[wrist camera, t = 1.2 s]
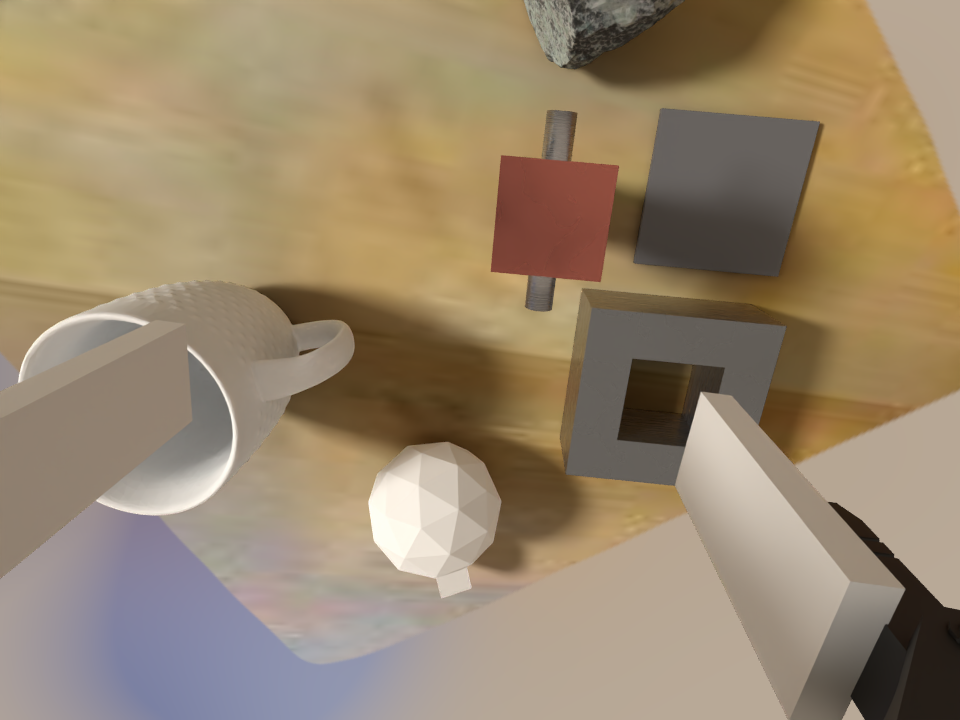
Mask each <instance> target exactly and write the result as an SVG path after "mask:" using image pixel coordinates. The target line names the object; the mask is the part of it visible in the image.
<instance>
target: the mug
mask: <svg viewBox="0 0 960 720" xmlns="http://www.w3.org/2000/svg"><path fill="white" fill-rule="evenodd" d="M155 320H160V321H167V322H175V323H183V324H186V336H187V350H188V364H189V379H190V393H191V407H192V422H190V423H189V424H188V425H187V426H185V427H184V428H183V429H182V430H181V431H179V432H178V433H177V434H176V435H175V436H173V437H172V438H171V439H170V440H168V441H167V442H166V443H165V444H164V445H162V446H161V447H160V448H159V449H158V450H156V451H155V452H154V453H153V454H151V455H150V456H149V457H148V458H147V459H145V460H144V461H143V462H142V463H140V464H139V465H138V466H137V467H136V468H134V469H133V470H132V471H131V472H130V473H128V474H127V475H126V476H125V477H123V478H122V479H121V480H120V481H119V482H117V483H116V484H115V485H114V486H113V487H111V488H110V489H109V490H108V491H106V492H105V493H104V494H103V495H102V496H100V497H99V498H98V499H97V500H96V501H97V502H99V503H101V504H104V505H106V506H109V507H112V508H115V509H118V510H121V511H125V512H129V513H135V514H142V515H143V514H144V515H169V514H175V513H180V512H184V511H187V510H190V509H192V508H195V507H197V506H199V505H201V504H202V503H204V502H206V501H207V500H209V499H210V498H211V497H213V496H214V495H215V494H216V493H217V492H218V491H219V490H220V489H221V488H222V487H223V486H224V485H225V484H226V483H227V482H228V481H229V480H230V479H231V478H232V477H233V475H235V474H236V473H237V472H238V470H239V469H240V468H241V467H242V465H244V464H245V463H246V462H248V460H249V459H250V457H251V455H252V454H253V453H254V452H255V451H256V450H257V449H259V447H260V446H261V444H262V442H263V441H264V440H265V439H266V438H267V437H268V436H269V434H270V432H271V430H272V429H273V427H274V426H276V425H277V423H278V421H279V419H280V417H281V416H282V415H283V414H284V411H285V408H286V406H287V404H288V403H289V401H290V398H291V395H293V394H296V393H299V392H301V391H303V390H306V389H308V388H311V387H313V386H315V385H317V384H320V383H321V382H323V381H325V380H327V379H328V378H330V377H332V376H333V375H335V374H336V373H338V372H339V371H340V370H342V369H343V368H344V367H345V366H346V365H347V364H348V363H349V361H350V360H351V358H352V356H353V354H354V349H355V343H354V337H353V334H352V331H351V329H350V327H349V326H348V325H347V324H346V323H345V322H343V321H340V320H322V321H314V322H308V323H302V324H296V325H292V324H291V322H290V320H289V319H288V317H287V316H286V314H285V313H284V312H283V311H282V310H281V309H280V307H278V306H277V305H276V304H275V303H274V302H273V301H271V300H270V299H269V298H268V297H267V296H265V295H262V294H260V293H259V292H257V291H256V290H254V289H249V288H247V287H245V286H242V285H237V284H234V283H231V282H230V283H226V282H223V281H209V280H205V281H195V280H194V281H191V282H178V283H175V284H164V285H162V286H160V287H157V288H149V289H147V290H145V291H142V292H137V293H133V294H131V295H129V296H126V297H123V298H117V299H115V300H113V301H112V302H109V303H106V304H101V305H99V306H97V307H95V308H93V309H90V310H88V311H85V312H82V313H80V314H77V315H74V316H72V317H69V318H67V319H65V320H63V321H61V322H59V323H57V324H55V325H54V326H52V327H51V328H49V329H48V330H47V331H45V332H44V333H43V334H42V335H41V336H40V337H39V338H38V339H37V340H36V341H35V342H34V343H33V345H32V346H31V348H30V349H29V350H28V352H27V354H26V356H25V358H24V360H23V363H22V366H21V370H20V373H19V381H18V383H20V382H22V381H24V380H26V379H29V378H31V377H33V376H35V375H37V374H39V373H42V372H44V371H46V370H48V369H50V368H52V367H55V366H57V365H59V364H61V363H63V362H66V361H68V360H70V359H72V358H74V357H76V356H79V355H81V354H83V353H85V352H87V351H90V350H92V349H94V348H96V347H98V346H100V345H103V344H105V343H107V342H109V341H111V340H113V339H116V338H118V337H120V336H122V335H124V334H127V333H129V332H131V331H133V330H135V329H137V328H140V327H142V326H144V325H146V324H148V323H151V322H153V321H155ZM313 348H318V349H316V350H314V351H312V352H310V353H307V354H304V355H301V356H299V352H300V351H303V350H308V349H313Z"/></svg>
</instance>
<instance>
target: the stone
mask: <svg viewBox="0 0 960 720" xmlns="http://www.w3.org/2000/svg"><path fill="white" fill-rule="evenodd" d="M684 1H685V0H524V2H525V5H526V9H527V12H528V16H529V19H530V21H531V24H532V26H533V28H534V30H535V33H536V36H537V38H538V40H539V42H540V45H541V47H542V49H543V51H544V52H545V54H546V57H547V59H548V60H550V61H551V62H555V63H556V64H557V65H558V66H559V67H561V68H569V69H577V68H579V67H581V66H585V65H587V64H589V63H591V62H592V61H593V60H595V59H596V58H597V57H598V56H600V55H601V54H602V53H604V52H605V51H611V50H614V49H616V48H618V47H620V46H623V45H624V44H626V43H627V42H629V41H630V40H631V39H633V38H635V37H636V36H638V35H639V34H641V33H642V32H643V31H645V30H647V29H648V28H650V27H651V26H653V25H654V24H655V23H656V22H657V21H659V20H660V19H662V18H663V17H664V16H665V15H666V14H668V13H669V12H670V11H671V10H673V9H674V8H675V7H677V6H678V5H680V4H681V3H682V2H684Z"/></svg>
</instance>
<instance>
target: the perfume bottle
mask: <svg viewBox="0 0 960 720" xmlns="http://www.w3.org/2000/svg"><path fill="white" fill-rule="evenodd" d="M501 502H502V501H501V499H500V497H499V494H498V492H497V490H496V488H495V486H494V483H493V481H492V479H491V477H490V475H489V472H488V470H487V468H486V466H485V464H484V462H482V461H481V460H480V459H479V458H477V457H476V456H475V455H473V454H472V453H471V452H469V451H468V450H466V449H464V448H461V447H459V446H457V445H454V444H452V443H450V442H441V443H431V444H421V445H411V446H407V447H406V448H404V449H403V450H402V451H401V452H400V453H399V454H398V455H397V456H396V457H395V458H394V459H393V460H391V461H390V462H389V463H388V464H387V465H386V466H385V467H384V468H383V469H382V470H381V471H380V472H378V474H377V477H376V480H375V483H374V486H373V489H372V492H371V495H370V499H369V502H368V503H369V510H370V517H371V524H372V531H373V537H374V542H375V543H376V544H377V545H378V546H379V548H380V549H381V550H382V551H383V552H384V553H385V555H386V556H387V557H388V558H389V559H390V560H391V562H392V563H393V564H394V565H395V566H396V567H397V568H398V570H401V571H405V572H410V573H414V574H418V575H423V576H427V577H431V578H436V580H437V584H438V588H439V591H440V595H441V598H444V597H447V596H450V595H453V594H456V593H459V592H462V591H465V590H468V589H471V583H470V579H469V574H468V570H467V567H468V566H470V565H471V564H473V563H474V562H475V561H476V560H477V559H478V558H479V556H480V555H481V554H482V553H483V552H484V551H485V550H486V549H487V548H488V547H489V546H490V545H491V544H492V543H493V542H494V537H495V532H496V527H497V522H498V517H499V512H500V507H501Z"/></svg>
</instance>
